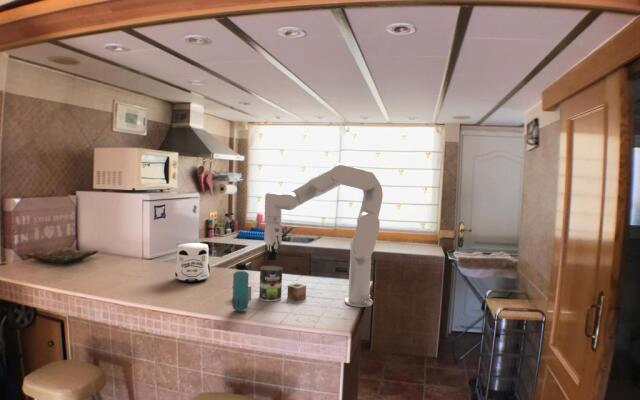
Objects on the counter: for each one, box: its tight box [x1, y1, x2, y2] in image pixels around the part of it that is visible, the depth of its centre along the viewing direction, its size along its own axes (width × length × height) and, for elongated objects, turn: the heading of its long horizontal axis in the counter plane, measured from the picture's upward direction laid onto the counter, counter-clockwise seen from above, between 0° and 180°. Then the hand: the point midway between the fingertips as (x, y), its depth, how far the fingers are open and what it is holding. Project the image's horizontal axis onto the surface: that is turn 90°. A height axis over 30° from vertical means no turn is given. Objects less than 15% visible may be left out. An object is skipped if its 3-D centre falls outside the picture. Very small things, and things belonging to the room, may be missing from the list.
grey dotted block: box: [248, 282, 252, 301], centre depth 176 cm, size 6×6×6 cm
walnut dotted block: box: [286, 282, 307, 302], centre depth 179 cm, size 6×6×6 cm
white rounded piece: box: [174, 242, 211, 283], centre depth 201 cm, size 17×17×18 cm
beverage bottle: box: [231, 262, 250, 311], centre depth 159 cm, size 6×7×20 cm
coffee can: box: [258, 264, 284, 302], centre depth 177 cm, size 10×10×14 cm
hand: (271, 259), depth 176 cm, fingers closed
